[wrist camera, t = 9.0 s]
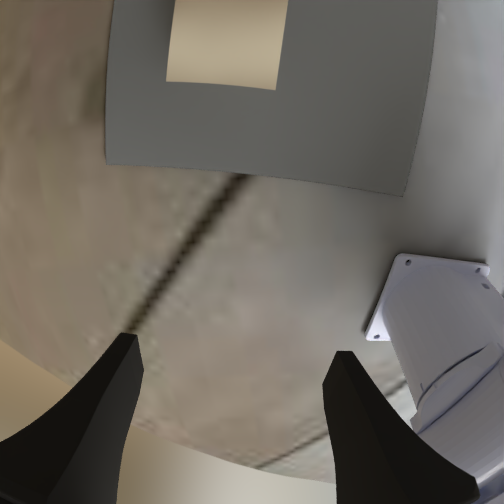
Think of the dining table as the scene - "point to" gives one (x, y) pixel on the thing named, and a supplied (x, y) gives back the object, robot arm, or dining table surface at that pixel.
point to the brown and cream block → (227, 42)
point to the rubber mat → (280, 96)
